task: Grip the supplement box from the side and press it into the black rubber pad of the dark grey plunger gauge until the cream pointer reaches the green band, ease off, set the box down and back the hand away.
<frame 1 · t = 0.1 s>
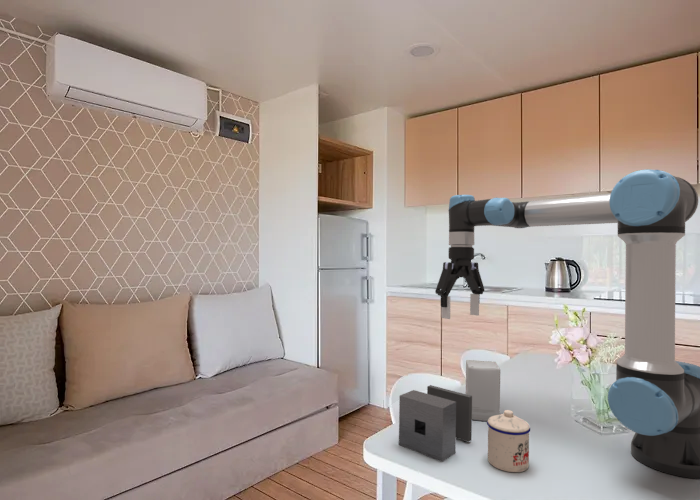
hand: (460, 316, 128), 28 cm above the table, tool pointing down, fingers open, 13 cm apart
milk bottle: (637, 402, 137), on the table
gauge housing: (449, 434, 109), on the table
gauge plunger: (436, 415, 107), point 6 cm above the table, slide at 0.0 cm
supplement box: (482, 416, 123), on the table
teacup with lid: (510, 461, 96), on the table
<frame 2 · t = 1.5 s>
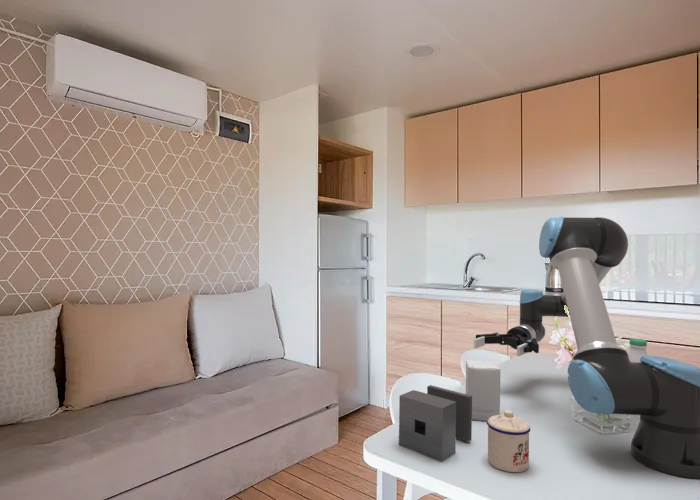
hand: (495, 347, 130), 18 cm above the table, tool horizontal, fingers open, 13 cm apart
nothing on the table moved.
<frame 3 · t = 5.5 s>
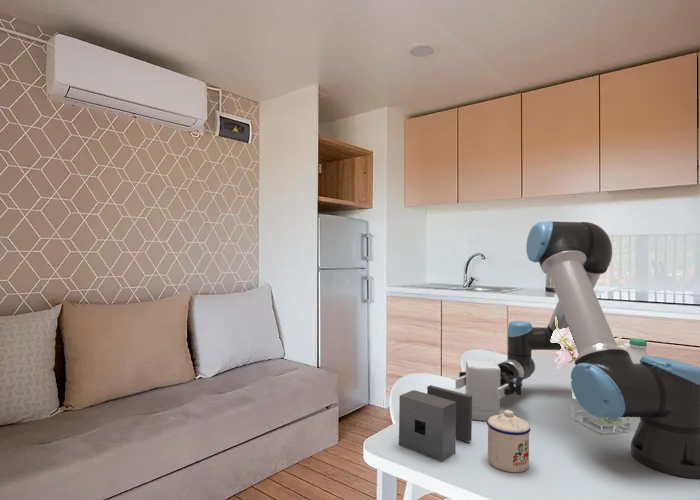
hand: (476, 388, 120), 9 cm above the table, tool horizontal, fingers closed on supplement box, 12 cm apart
supplement box: (482, 416, 123), on the table, touching gripper
everything else where it was.
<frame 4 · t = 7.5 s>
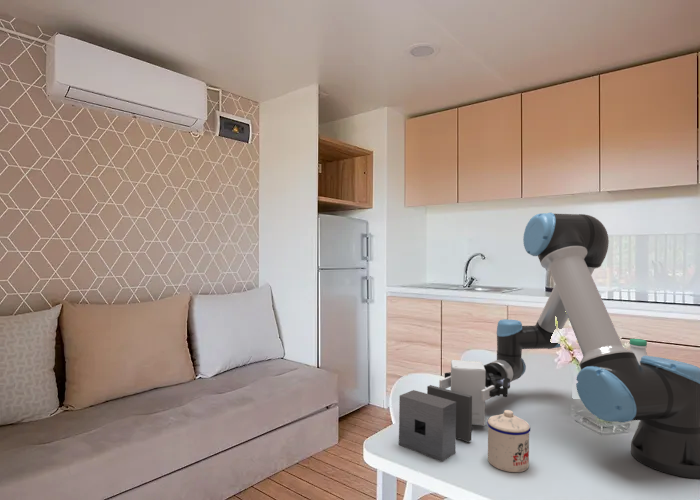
hand: (460, 390, 115), 10 cm above the table, tool horizontal, fingers closed on supplement box, 12 cm apart
supplement box: (466, 419, 117), point 1 cm above the table, touching gripper
everything else where it was.
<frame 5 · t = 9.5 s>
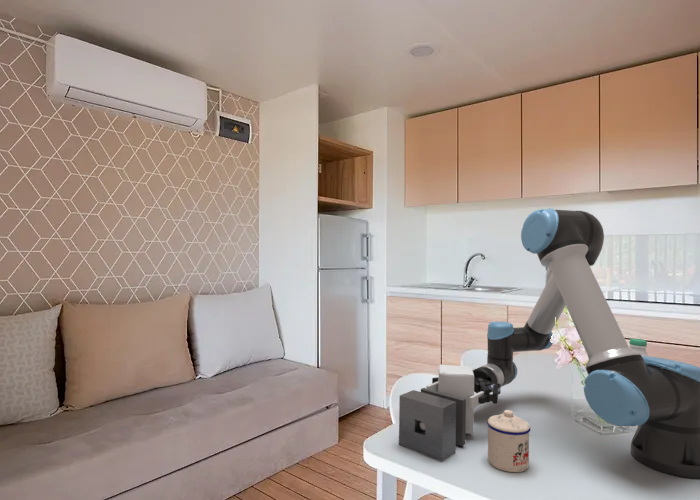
hand: (448, 397, 109), 10 cm above the table, tool horizontal, fingers closed on supplement box, 12 cm apart
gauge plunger: (429, 418, 104), point 6 cm above the table, slide at 3.2 cm, touching supplement box
supplement box: (455, 426, 112), point 1 cm above the table, touching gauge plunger, gripper
everything else where it was.
when the fingers open (9 cm above the table, at t = 12.2 s): supplement box stays where it is, on the table.
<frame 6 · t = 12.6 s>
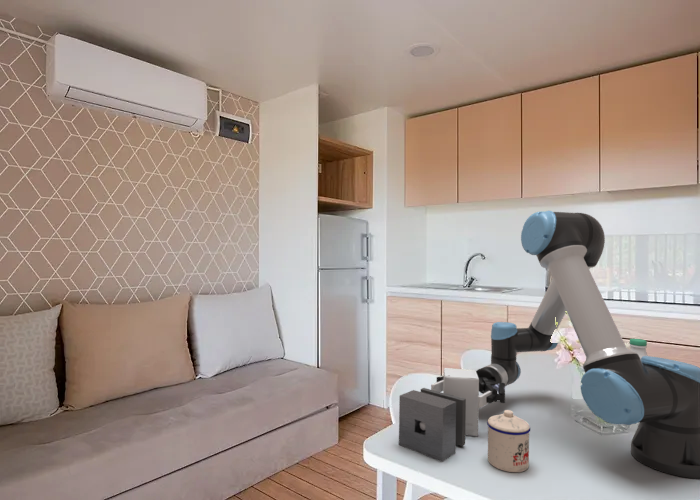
hand: (454, 396, 111), 9 cm above the table, tool horizontal, fingers open, 13 cm apart
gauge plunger: (429, 418, 104), point 6 cm above the table, slide at 3.3 cm
supplement box: (460, 429, 114), on the table
everything else where it was.
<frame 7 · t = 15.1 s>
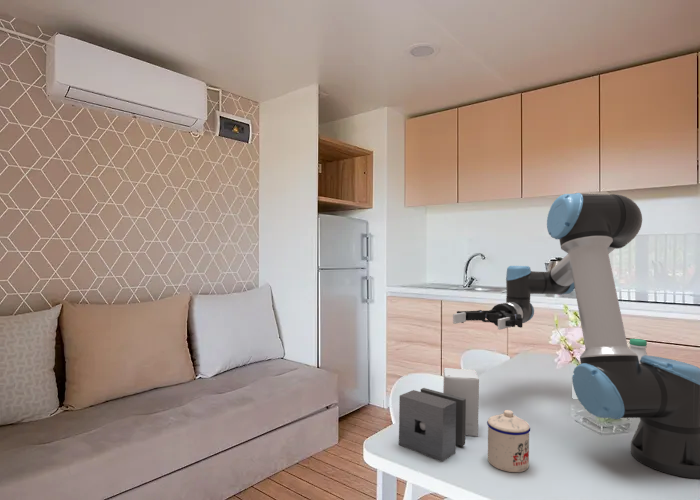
hand: (475, 321, 120), 28 cm above the table, tool horizontal, fingers open, 13 cm apart
nothing on the table moved.
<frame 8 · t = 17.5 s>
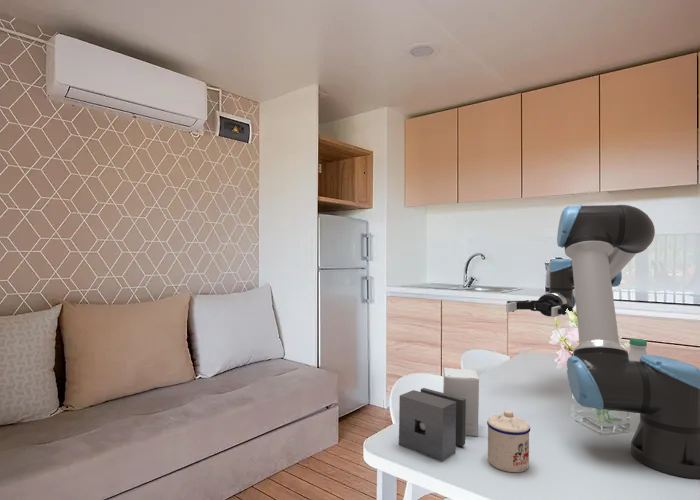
hand: (529, 310, 130), 30 cm above the table, tool horizontal, fingers open, 13 cm apart
nothing on the table moved.
at the end: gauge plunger slide at 3.3 cm; the gripper is holding nothing; supplement box tilted 0° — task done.
